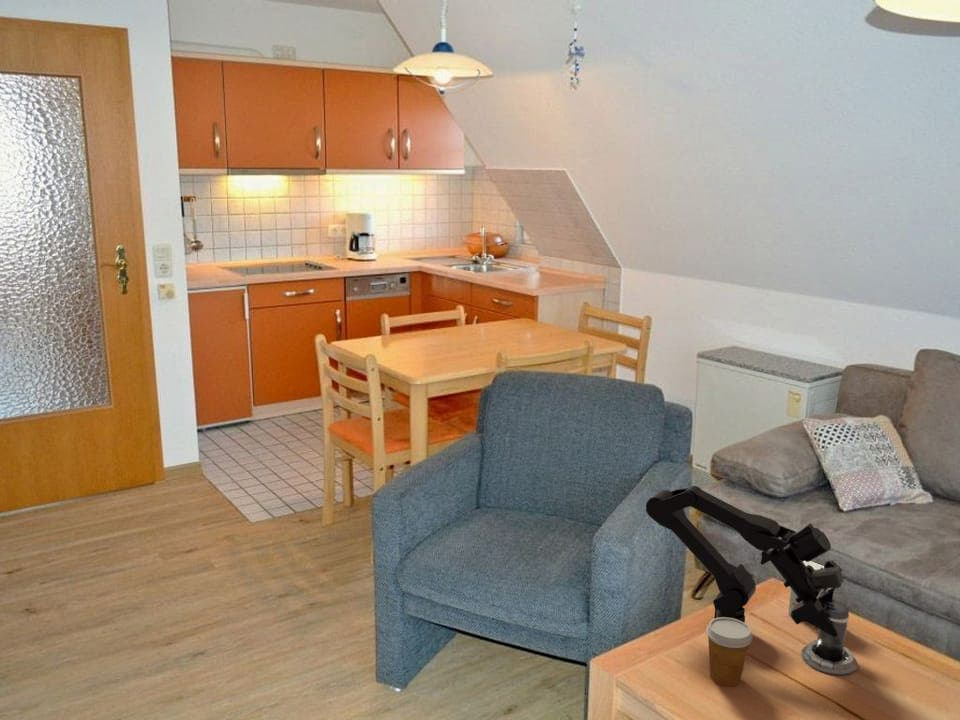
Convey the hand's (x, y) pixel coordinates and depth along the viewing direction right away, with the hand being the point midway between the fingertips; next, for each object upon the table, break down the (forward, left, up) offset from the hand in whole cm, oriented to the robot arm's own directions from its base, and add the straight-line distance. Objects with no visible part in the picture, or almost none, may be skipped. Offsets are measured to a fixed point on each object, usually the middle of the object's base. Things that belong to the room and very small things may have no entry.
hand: (839, 630), depth 187 cm
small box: (-16, +12, -8) cm, 21 cm away
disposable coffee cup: (-8, -26, -8) cm, 29 cm away
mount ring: (-1, 0, -8) cm, 8 cm away
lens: (-1, -1, -7) cm, 7 cm away
